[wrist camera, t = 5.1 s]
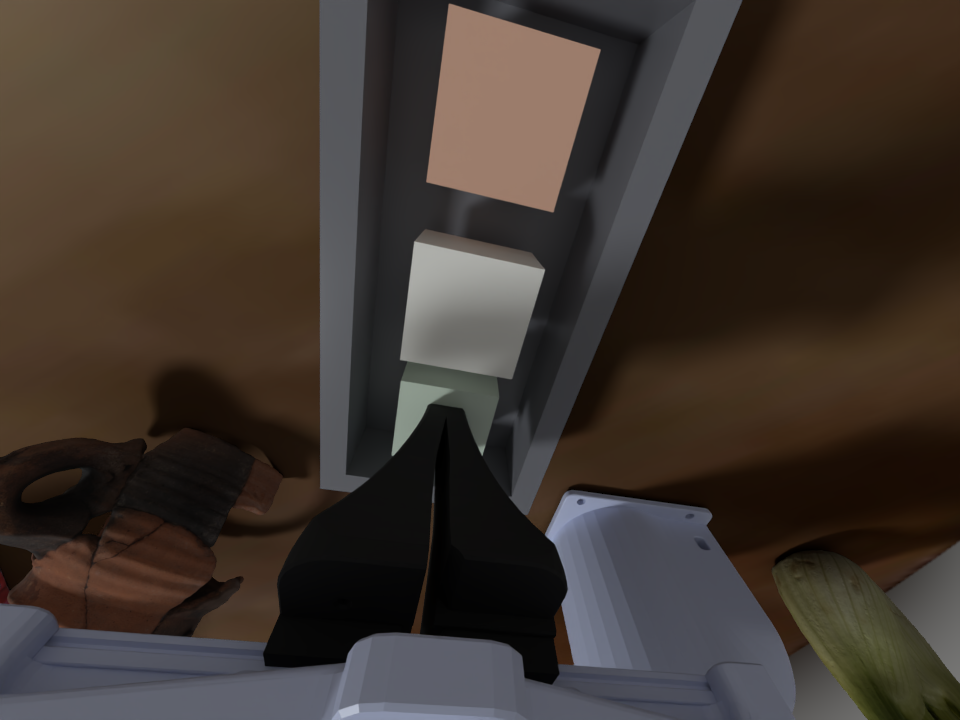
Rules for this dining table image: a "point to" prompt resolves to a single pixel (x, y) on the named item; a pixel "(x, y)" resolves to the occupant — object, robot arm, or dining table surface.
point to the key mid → (468, 304)
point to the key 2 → (507, 109)
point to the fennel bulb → (865, 639)
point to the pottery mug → (130, 529)
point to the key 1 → (445, 399)
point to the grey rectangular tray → (488, 208)
